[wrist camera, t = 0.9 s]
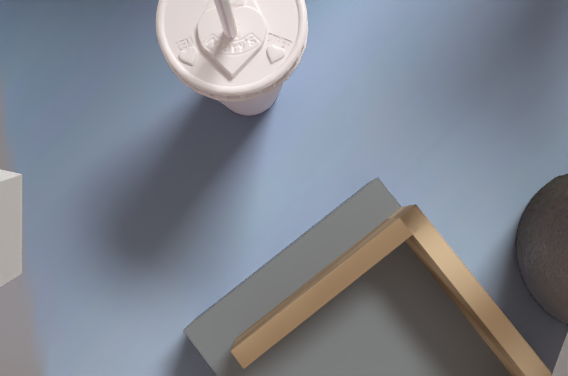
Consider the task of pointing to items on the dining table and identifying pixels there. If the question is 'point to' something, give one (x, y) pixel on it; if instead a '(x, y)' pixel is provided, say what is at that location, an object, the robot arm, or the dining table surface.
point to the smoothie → (233, 47)
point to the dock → (348, 310)
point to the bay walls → (363, 256)
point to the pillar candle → (546, 247)
